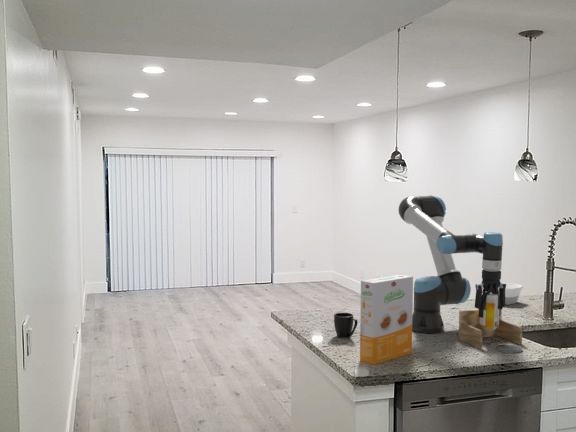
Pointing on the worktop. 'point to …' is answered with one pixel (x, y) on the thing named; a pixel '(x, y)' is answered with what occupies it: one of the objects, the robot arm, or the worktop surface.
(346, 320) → the mug
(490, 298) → the beer can
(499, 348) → the coaster
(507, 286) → the bowl
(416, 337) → the worktop surface
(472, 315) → the shelf bay
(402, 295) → the cereal box
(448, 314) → the worktop surface
